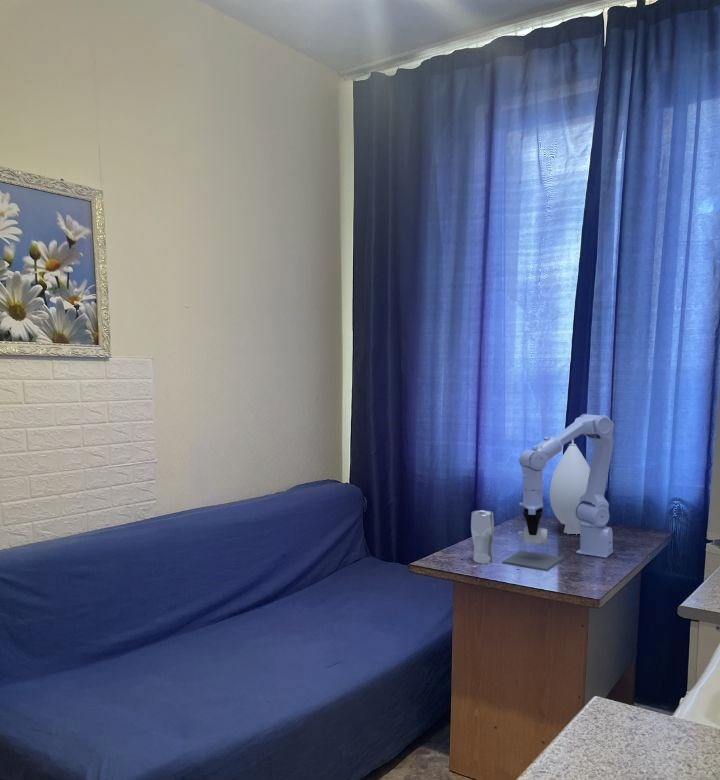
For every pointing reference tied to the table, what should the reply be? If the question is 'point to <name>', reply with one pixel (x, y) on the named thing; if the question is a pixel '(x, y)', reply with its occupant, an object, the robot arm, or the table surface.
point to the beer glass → (482, 535)
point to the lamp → (569, 487)
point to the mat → (533, 560)
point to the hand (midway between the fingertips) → (533, 533)
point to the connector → (534, 536)
